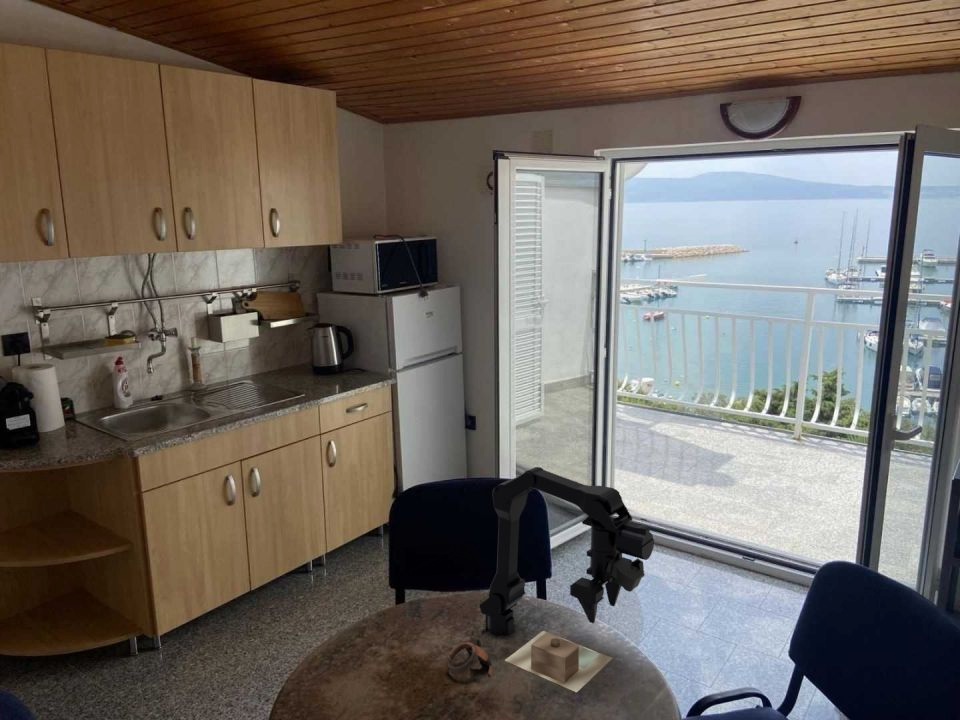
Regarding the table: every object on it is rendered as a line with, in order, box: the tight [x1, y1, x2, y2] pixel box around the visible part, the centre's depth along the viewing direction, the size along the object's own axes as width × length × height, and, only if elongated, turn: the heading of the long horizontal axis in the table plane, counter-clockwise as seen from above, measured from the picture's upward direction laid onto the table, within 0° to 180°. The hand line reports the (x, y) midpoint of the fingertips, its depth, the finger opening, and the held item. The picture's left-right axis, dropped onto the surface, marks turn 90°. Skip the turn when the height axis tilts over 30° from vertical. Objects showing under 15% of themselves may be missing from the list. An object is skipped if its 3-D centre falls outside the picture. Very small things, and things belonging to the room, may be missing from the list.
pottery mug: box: [446, 636, 494, 679], centre depth 158 cm, size 12×9×8 cm
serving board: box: [504, 630, 613, 693], centre depth 162 cm, size 19×16×1 cm
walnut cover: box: [531, 632, 580, 684], centre depth 157 cm, size 9×6×7 cm
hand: (602, 613), depth 155 cm, fingers open, 9 cm apart
